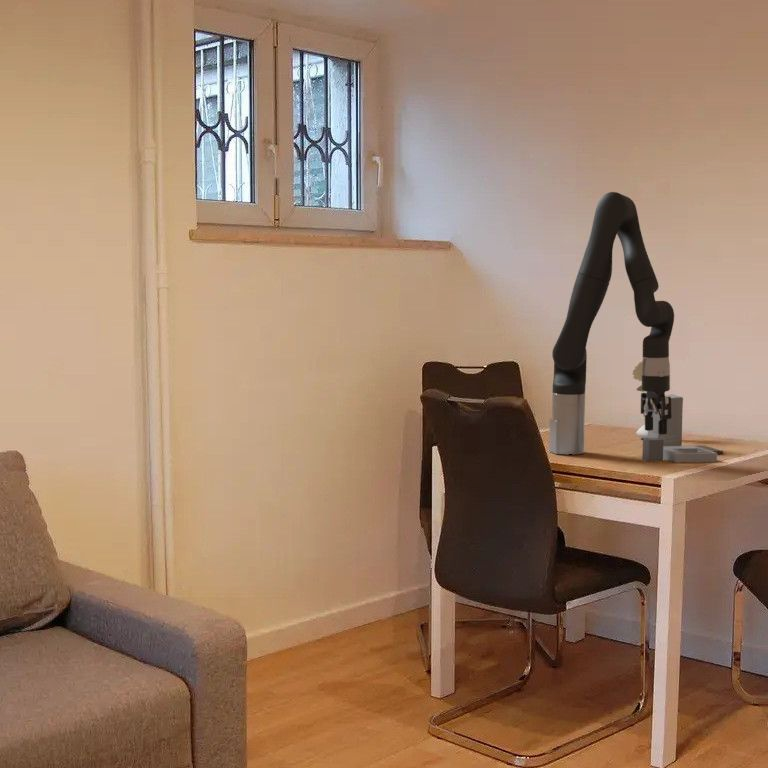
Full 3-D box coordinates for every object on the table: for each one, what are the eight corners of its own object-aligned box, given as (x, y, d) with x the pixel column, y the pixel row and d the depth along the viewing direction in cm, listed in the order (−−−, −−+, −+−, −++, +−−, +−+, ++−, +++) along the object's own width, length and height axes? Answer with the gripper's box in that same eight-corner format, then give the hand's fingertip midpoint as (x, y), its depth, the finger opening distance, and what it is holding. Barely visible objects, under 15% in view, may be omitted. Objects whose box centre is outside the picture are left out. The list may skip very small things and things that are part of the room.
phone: (723, 454, 319) (723, 450, 319) (703, 454, 318) (703, 451, 318) (703, 448, 331) (703, 444, 331) (684, 448, 330) (684, 445, 330)
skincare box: (670, 446, 335) (671, 394, 333) (683, 449, 328) (685, 396, 326) (645, 447, 332) (646, 394, 331) (658, 451, 325) (659, 397, 324)
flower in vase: (668, 436, 356) (670, 358, 354) (677, 441, 345) (679, 361, 342) (627, 436, 356) (629, 358, 354) (635, 441, 345) (636, 360, 343)
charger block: (648, 462, 306) (649, 439, 305) (642, 459, 310) (642, 437, 309) (662, 461, 306) (663, 439, 306) (656, 459, 310) (657, 437, 310)
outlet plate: (675, 462, 304) (676, 453, 304) (654, 455, 318) (654, 446, 317) (716, 461, 306) (717, 452, 306) (693, 454, 320) (693, 445, 320)
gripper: (632, 372, 313) (632, 429, 314) (654, 376, 299) (654, 436, 300) (656, 371, 314) (656, 428, 315) (680, 375, 300) (680, 434, 302)
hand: (655, 432), depth 308 cm, fingers open, 8 cm apart
